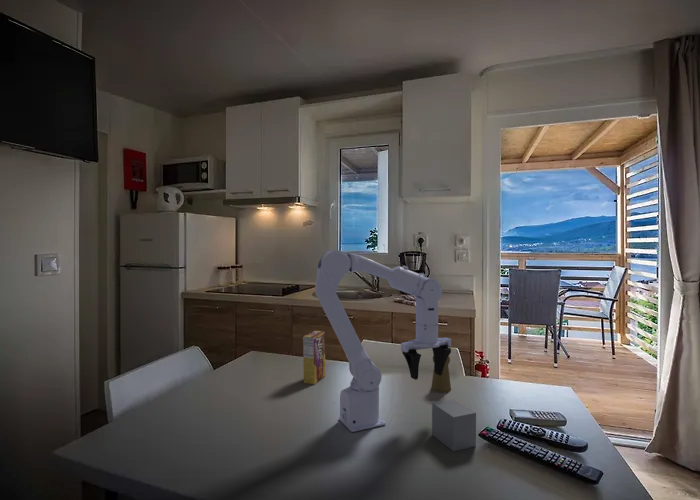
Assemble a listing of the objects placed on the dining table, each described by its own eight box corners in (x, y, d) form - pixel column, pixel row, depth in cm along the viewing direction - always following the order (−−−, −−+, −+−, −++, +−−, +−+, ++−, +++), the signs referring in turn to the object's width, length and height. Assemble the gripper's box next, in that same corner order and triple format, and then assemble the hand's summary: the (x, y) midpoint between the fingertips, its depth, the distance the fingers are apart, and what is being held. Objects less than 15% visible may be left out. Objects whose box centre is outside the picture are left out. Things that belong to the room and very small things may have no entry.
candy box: (314, 374, 131) (314, 330, 131) (325, 376, 129) (326, 331, 129) (302, 383, 122) (302, 335, 122) (314, 384, 121) (314, 337, 121)
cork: (428, 390, 117) (429, 354, 117) (434, 383, 122) (434, 349, 122) (448, 393, 114) (448, 357, 114) (453, 387, 120) (453, 352, 119)
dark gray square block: (453, 451, 82) (453, 417, 82) (432, 434, 89) (432, 403, 89) (475, 446, 84) (476, 412, 84) (453, 430, 91) (453, 399, 91)
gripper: (412, 329, 92) (412, 385, 92) (459, 324, 98) (459, 377, 98) (396, 324, 98) (396, 376, 98) (441, 319, 104) (441, 369, 105)
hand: (426, 376), depth 99 cm, fingers open, 7 cm apart
